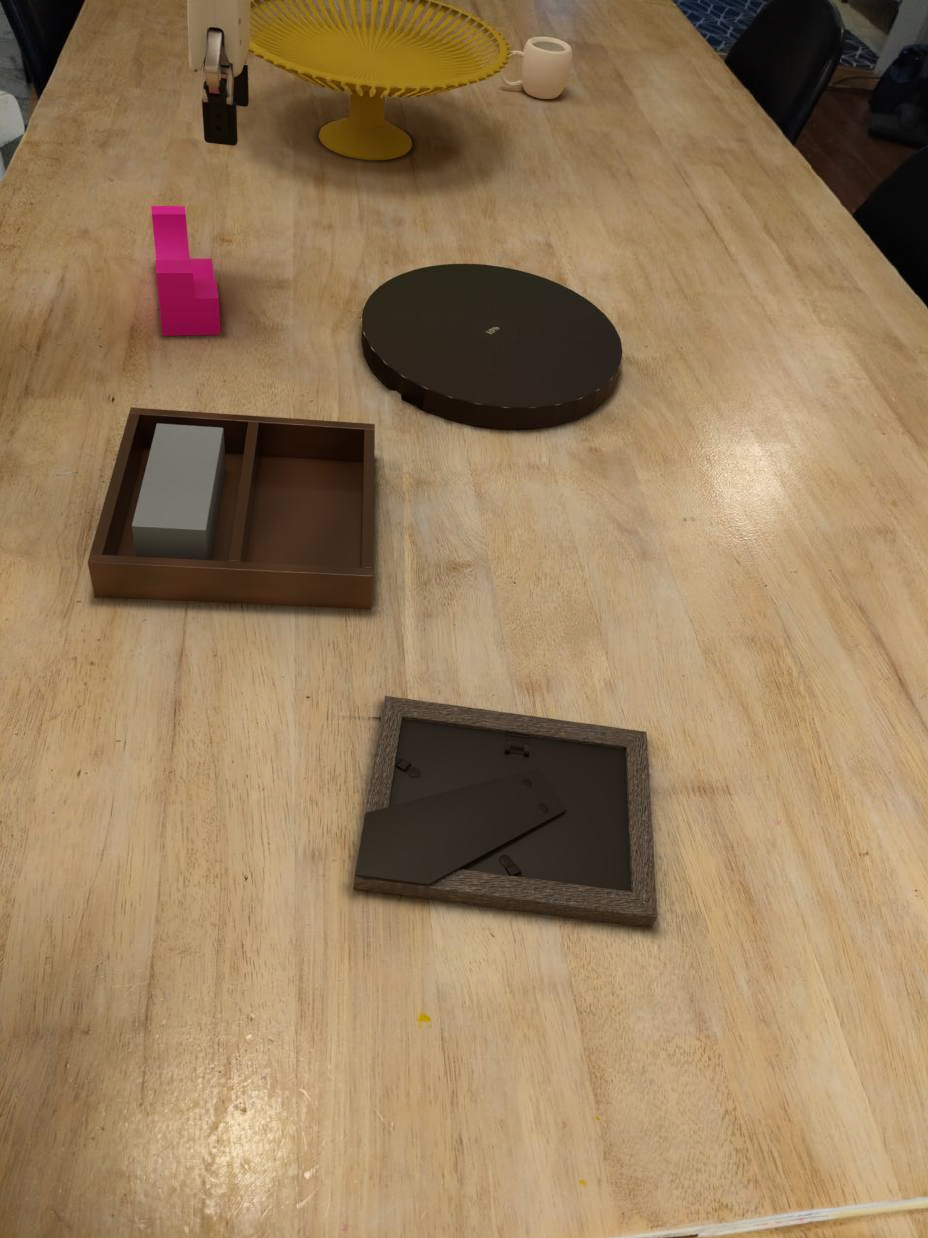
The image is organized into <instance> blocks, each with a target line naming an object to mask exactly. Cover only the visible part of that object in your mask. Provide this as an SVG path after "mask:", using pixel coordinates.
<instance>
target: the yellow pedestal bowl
mask: <svg viewBox="0 0 928 1238" xmlns="http://www.w3.org/2000/svg"><path fill="white" fill-rule="evenodd" d="M273 1H274V2H275V4H276V5H277V6H278V7H279V8H280V10H281V11H282V12H283V13H282V12H281V11H280V10H279V9H278V8H277V7H276V6H275V4H274V3H273V2H272V1H271V0H263V1H261V0H251V9H252V10H251V23H250V45H249V50H248V52H249V53H251V54H252V55H253V56H255V57H257V58H259V59H261V60H263V61H265V62H267V63H268V64H271V65H273V66H275V67H276V68H279V69H281V70H282V71H285V72H287V73H288V74H290V75H293V76H294V77H296V78H298V79H300V80H302V81H305V82H307V83H310V84H313V85H314V86H319V87H321V88H323V89H325V88H327V89H329V90H331V91H334V90H336V91H337V92H339V93H344V92H345V91H346V92H347V93H348V94H350V98H349V116H346V117H343V118H339V119H337V120H334V121H331V122H329V123H326V124H324V125H323V126H322V127H321V128H320V129H319V131H318V132H319V133H318V138H319V140H320V142H321V144H322V145H323V146H325V147H326V148H327V149H328V150H331V152H333V153H336V154H339V155H342V156H344V157H348V158H352V159H357V160H364V161H365V160H366V161H386V160H392V159H397V158H400V157H402V156H405V155H406V154H408V153H409V151H411V148H412V146H413V142H412V139H411V137H410V135H408V133H407V132H405V131H404V130H402V129H401V128H399V127H397V126H396V125H394V124H392V123H390V122H389V121H387V120H385V110H386V109H385V108H386V97H387V96H388V98H389V99H393V98H396V97H398V98H399V99H403V98H408V99H411V98H414V97H416V98H420V97H427V96H431V95H437V94H440V93H444V92H447V91H448V92H449V91H451V90H455V89H459V88H463V87H467V86H470V85H474V84H476V83H480V82H482V81H486V80H489V79H490V78H491V77H495V76H496V75H497V74H500V72H502V70H501V69H503V68H504V69H505V68H507V67H508V66H507V65H509V64H510V63H511V61H510V60H511V59H512V58H513V56H508V55H510V54H512V53H513V52H511V51H512V50H511V49H513V47H512V46H509V45H510V44H511V42H510V41H507V40H506V39H507V37H506V36H502V34H503V32H502V31H498V30H496V29H497V27H495V26H491V25H490V24H491V23H490V22H488V21H483V20H482V19H483V18H482V17H477V16H474V15H475V14H474V13H472V12H471V13H470V12H466V11H465V9H463V8H456V7H455V5H453V4H445V3H444V1H437V0H419V1H418V4H417V6H416V9H415V11H414V12H413V15H412V17H411V19H410V21H409V22H408V25H407V26H406V28H405V29H404V27H405V25H406V22H407V19H408V17H409V15H410V12H411V10H412V8H413V6H414V4H415V2H416V0H406V4H405V7H404V9H403V12H402V15H401V18H400V20H399V23H398V25H397V27H396V29H395V26H396V22H397V19H398V15H399V12H400V9H401V6H402V4H403V1H404V0H394V3H393V8H392V13H391V16H390V19H389V23H388V26H387V25H386V23H387V17H388V12H389V7H390V3H391V0H382V7H381V13H380V14H381V15H380V20H379V24H378V26H377V18H378V16H377V15H378V7H379V6H378V5H379V0H371V5H370V6H371V10H370V20H369V21H370V23H369V24H368V14H367V13H368V12H367V5H368V3H367V0H359V1H360V2H359V3H360V24H359V20H358V13H357V12H358V11H357V3H356V0H348V2H349V9H350V18H351V21H350V20H349V16H348V13H347V8H346V3H345V0H337V3H338V5H339V11H340V14H341V18H340V17H339V14H338V11H337V8H336V6H335V5H336V4H335V2H334V0H326V2H327V5H328V7H329V10H330V12H331V16H332V18H331V17H330V15H329V13H328V11H327V8H326V6H325V4H324V1H323V0H315V1H316V3H317V5H318V7H319V10H320V12H321V14H322V17H323V18H322V17H321V15H320V13H319V12H318V9H317V8H316V6H315V4H314V2H313V0H305V1H306V4H307V5H308V7H309V9H310V10H311V13H312V14H313V16H314V18H313V16H311V15H312V14H310V12H309V11H308V9H307V7H306V6H305V5H304V3H303V1H302V0H294V1H295V3H296V4H297V6H298V7H299V9H300V11H301V12H302V13H303V15H304V16H303V15H302V14H301V12H300V11H299V10H298V9H297V8H296V6H295V4H294V3H293V2H292V0H284V2H285V4H287V6H288V7H289V8H290V9H291V11H292V12H293V14H294V15H295V16H296V17H295V16H294V15H293V14H292V13H291V12H290V11H289V9H288V8H287V7H286V6H285V5H284V3H283V2H282V1H281V0H273ZM253 2H254V3H255V4H256V5H257V6H256V5H255V4H254V3H253ZM263 2H264V3H265V4H266V5H268V7H270V8H271V10H272V11H273V12H274V13H275V14H276V15H277V16H278V17H279V18H280V19H279V18H278V17H276V15H274V14H273V13H272V12H271V11H270V10H269V8H268V7H267V6H266V5H265V4H264V3H263ZM429 2H430V4H429V7H428V8H427V11H426V13H424V16H423V18H422V19H421V21H420V23H419V24H418V26H417V27H416V28H415V29H414V27H415V25H416V23H417V21H418V19H419V18H420V15H421V14H422V12H423V10H424V9H425V7H426V5H427V4H428V3H429ZM439 6H440V9H439V10H438V12H437V14H436V15H435V16H434V18H433V20H432V21H431V22H430V23H429V25H428V26H427V27H426V28H425V29H424V27H425V25H426V24H427V22H428V21H429V19H430V18H431V17H432V15H433V14H434V12H435V11H436V10H437V8H438V7H439ZM258 7H259V8H261V10H262V11H264V13H265V14H266V15H268V17H270V18H271V19H270V18H268V17H267V16H266V15H265V14H264V13H263V12H262V11H261V10H260V9H259V8H258ZM450 9H451V11H450V12H449V10H450ZM253 11H254V12H256V14H258V15H259V16H260V17H261V18H260V17H259V16H257V15H256V14H255V13H254V12H253ZM447 12H449V14H448V16H447V17H446V18H445V19H444V20H443V21H442V23H441V24H440V26H439V27H438V28H436V29H435V30H434V31H433V29H434V28H435V27H436V25H437V24H438V23H439V22H440V20H441V19H442V18H443V17H444V15H445V14H446V13H447ZM459 13H460V15H459V17H457V16H458V14H459ZM304 17H305V18H304ZM456 17H457V19H456V20H455V21H454V22H453V23H452V25H450V26H449V27H448V28H447V29H446V31H444V32H443V33H442V31H443V30H444V29H445V28H446V27H447V26H448V25H449V24H450V22H452V20H453V19H454V18H456ZM468 18H470V19H468ZM262 19H263V20H265V21H263V20H262ZM341 19H342V21H341ZM466 19H468V21H467V22H466V23H464V24H463V25H462V26H461V27H460V28H459V29H458V30H457V31H456V32H455V33H453V34H452V32H453V31H454V30H455V29H457V28H458V27H459V26H460V25H461V24H462V23H463V22H464V21H466ZM255 20H256V21H255ZM266 22H267V23H266ZM350 22H351V23H350ZM476 22H478V23H476ZM475 23H476V25H474V24H475ZM253 25H254V26H253ZM368 25H369V26H368ZM472 25H474V26H473V27H472V28H471V29H469V30H468V28H470V27H471V26H472ZM386 26H387V28H386ZM256 27H257V28H256ZM483 27H485V28H483ZM481 28H483V29H482V30H481V31H480V32H478V33H477V34H475V35H474V36H473V37H471V38H470V39H468V38H469V37H470V36H472V35H473V34H474V33H476V32H477V31H479V30H480V29H481ZM413 29H414V30H413ZM423 29H424V30H423ZM422 30H423V31H422ZM466 30H468V31H467V32H466V33H465V34H463V35H462V36H460V35H461V34H462V33H464V32H465V31H466ZM432 31H433V32H432ZM431 32H432V33H431ZM488 32H490V33H489V34H487V33H488ZM451 34H452V35H451ZM485 34H487V35H486V36H484V37H483V38H481V37H482V36H483V35H485ZM449 35H450V36H449ZM448 36H449V37H448ZM459 36H460V37H459ZM457 37H458V38H457ZM456 38H457V39H456ZM479 38H481V39H480V40H478V41H477V42H475V43H473V42H474V41H476V40H477V39H479ZM492 38H493V39H492ZM466 39H468V40H467V41H465V40H466ZM488 40H489V42H487V43H485V42H486V41H488ZM464 41H465V42H464ZM462 42H463V43H462ZM472 43H473V44H472ZM483 43H485V44H484V45H482V44H483ZM470 44H471V45H470ZM480 45H482V46H480ZM491 45H493V46H491ZM478 46H479V47H478ZM488 47H489V48H488ZM486 48H487V49H486ZM498 48H499V49H498ZM484 49H485V50H484ZM496 49H497V50H496ZM494 50H495V51H494ZM510 50H511V51H510ZM489 52H492V53H489ZM488 53H489V54H488ZM485 54H487V55H485ZM483 55H484V56H483ZM492 56H493V57H492ZM507 60H508V61H507Z"/></svg>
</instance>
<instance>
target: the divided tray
mask: <svg viewBox="0 0 928 1238" xmlns="http://www.w3.org/2000/svg"><path fill="white" fill-rule="evenodd" d="M157 423H159V424H174V425H189V426H204V427H219V428H223V429H224V446H225V463H226V472H225V478H224V484H223V491H222V497H221V503H220V509H219V515H218V521H217V528H216V534H215V540H214V546H213V552H212V558H211V560H194V559H174V558H154V557H136V551H135V544H134V538H133V531H132V523H133V519H134V515H135V511H136V507H137V502H138V498H139V494H140V490H141V486H142V482H143V478H144V474H145V470H146V466H147V462H148V458H149V454H150V449H151V445H152V441H153V437H154V433H155V429H156V425H157ZM375 434H376V423H366V422H354V421H353V422H351V421H336V420H324V419H323V420H322V419H307V418H292V417H277V416H266V415H265V416H264V415H263V416H262V415H248V414H234V413H220V412H219V413H216V412H205V411H191V410H190V411H189V410H175V409H159V408H146V407H130V408H129V411H128V416H127V419H126V423H125V426H124V430H123V434H122V437H121V441H120V444H119V448H118V450H117V451H118V452H117V454H116V459H115V462H114V466H113V469H112V473H111V476H110V480H109V484H108V487H107V491H106V494H105V498H104V501H103V505H102V509H101V512H100V516H99V519H98V523H97V527H96V530H95V533H94V538H93V541H92V544H91V548H90V552H89V555H88V560H87V566H88V572H89V577H90V581H91V586H92V592H93V596H94V598H100V599H101V598H106V599H123V600H124V599H127V600H147V601H148V600H149V601H151V600H152V601H170V602H171V601H172V602H193V603H215V604H234V605H235V604H237V605H260V606H281V607H282V606H283V607H301V608H303V607H305V608H324V609H325V608H326V609H347V610H348V609H350V610H370V611H371V610H372V599H373V589H374V587H373V586H374V573H375V572H374V568H375V567H374V565H375V564H374V563H375V561H374V560H375V559H374V557H375V553H374V552H375V457H376V454H375V443H376V440H375V439H376V438H375V437H376V435H375Z"/></svg>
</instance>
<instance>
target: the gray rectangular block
mask: <svg viewBox="0 0 928 1238" xmlns="http://www.w3.org/2000/svg"><path fill="white" fill-rule="evenodd" d="M225 472H226V463H225V446H224V429H223V428H219V427H204V426H189V425H174V424H159V423H157V425H156V429H155V433H154V437H153V441H152V445H151V449H150V454H149V458H148V462H147V466H146V470H145V474H144V478H143V482H142V486H141V490H140V494H139V498H138V502H137V507H136V511H135V515H134V519H133V523H132V531H133V538H134V544H135V551H136V557H154V558H174V559H194V560H211V558H212V552H213V546H214V540H215V534H216V528H217V521H218V515H219V509H220V503H221V497H222V491H223V484H224V478H225Z"/></svg>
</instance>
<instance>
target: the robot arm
mask: <svg viewBox="0 0 928 1238" xmlns="http://www.w3.org/2000/svg"><path fill="white" fill-rule="evenodd" d="M251 9H252V8H251V0H186V12H187V13H186V14H187V16H186V17H187V40H188V41H187V42H188V67H189V68H190V70H191V71H192V72H193V73H197V72H198V71H202V69H203V73H202V95H201V96H202V98H201V111H202V124H203V125H202V126H203V140H204V142H205V143H207V144H214V145H223V146H233V147H234V146H236V145H237V144H238V142H239V141H238V140H239V139H238V136H239V135H238V115H237V114H238V111H237V107H242V108H246V107H248V106H249V102H250V95H249V91H250V90H249V64H247V56H248V53H249V51H248V50H249V45H250V39H251V38H250V35H251V33H250V30H251V28H250V24H252V23H251V19H252V16H251V11H252V10H251Z"/></svg>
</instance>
